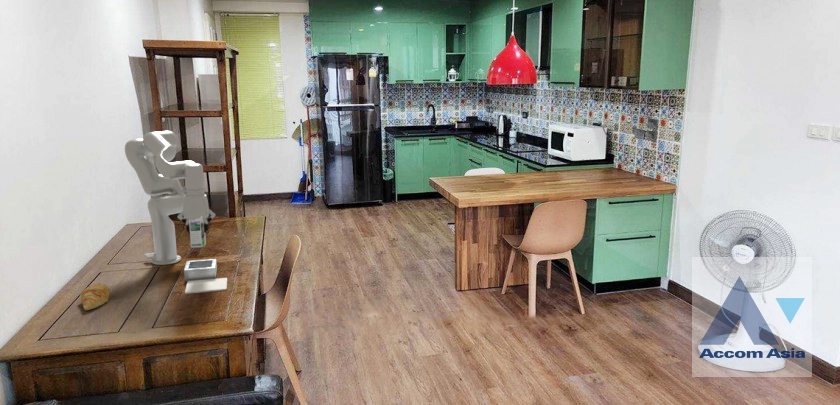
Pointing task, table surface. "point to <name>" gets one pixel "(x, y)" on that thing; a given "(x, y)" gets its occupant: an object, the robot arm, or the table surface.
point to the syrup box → (197, 232)
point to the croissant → (94, 296)
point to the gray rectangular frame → (200, 270)
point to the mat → (206, 285)
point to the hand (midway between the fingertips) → (197, 232)
